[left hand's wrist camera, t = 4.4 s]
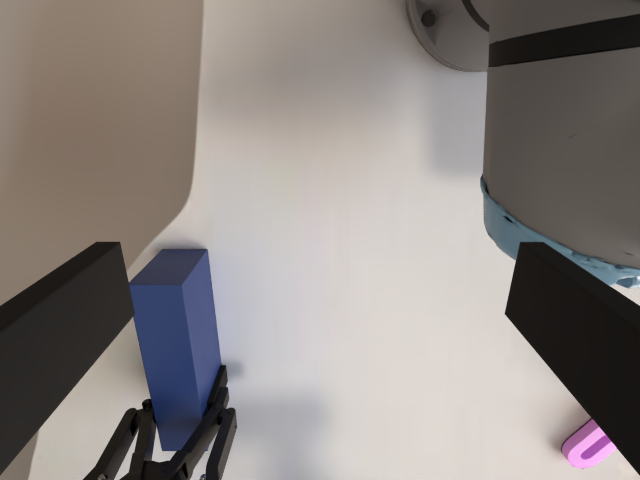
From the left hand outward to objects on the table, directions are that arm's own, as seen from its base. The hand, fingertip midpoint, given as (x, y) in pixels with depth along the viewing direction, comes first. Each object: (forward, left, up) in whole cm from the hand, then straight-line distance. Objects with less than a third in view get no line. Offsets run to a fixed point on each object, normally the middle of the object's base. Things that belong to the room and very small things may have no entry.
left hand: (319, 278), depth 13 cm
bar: (+27, -10, -30) cm, 42 cm away
